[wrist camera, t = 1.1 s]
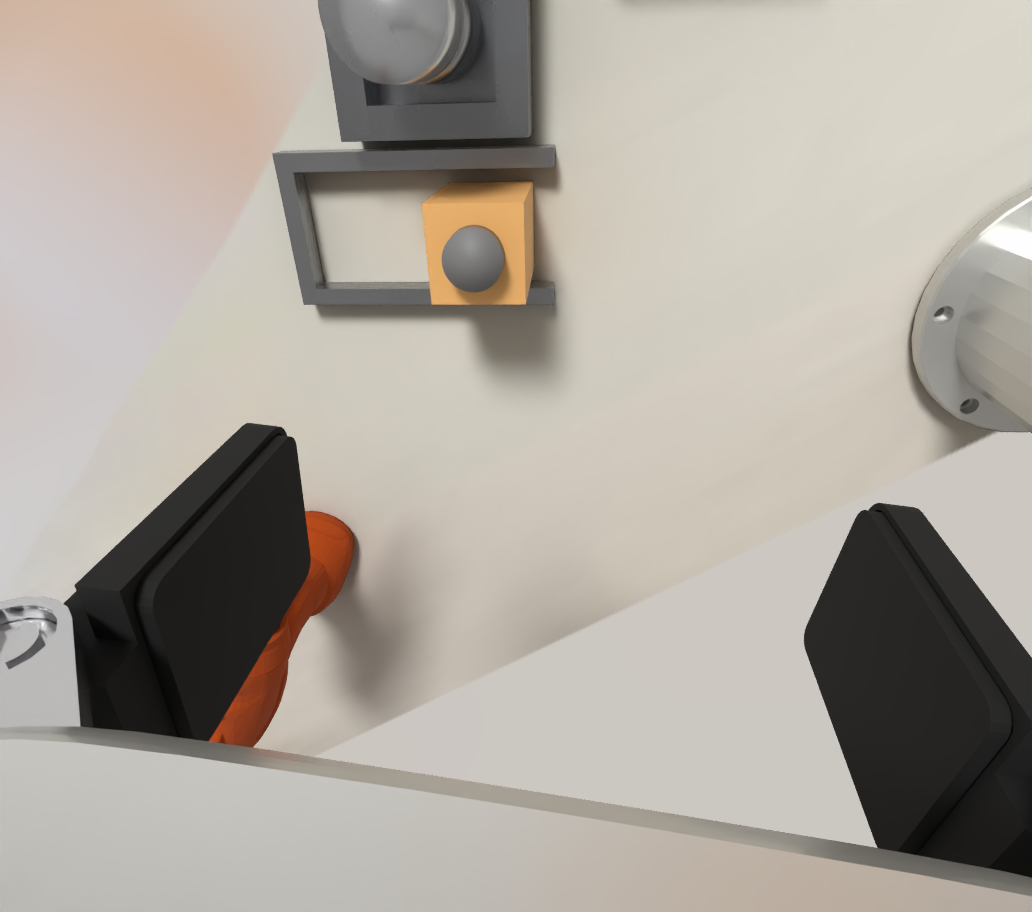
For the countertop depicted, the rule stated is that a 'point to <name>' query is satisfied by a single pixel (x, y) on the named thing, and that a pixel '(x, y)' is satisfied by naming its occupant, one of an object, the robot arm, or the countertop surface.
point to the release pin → (480, 243)
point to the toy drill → (289, 632)
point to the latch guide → (298, 162)
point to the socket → (449, 90)
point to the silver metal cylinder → (404, 38)
